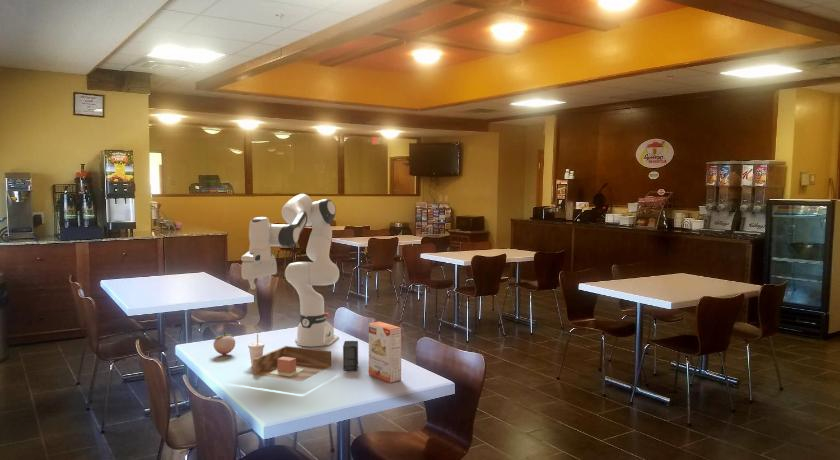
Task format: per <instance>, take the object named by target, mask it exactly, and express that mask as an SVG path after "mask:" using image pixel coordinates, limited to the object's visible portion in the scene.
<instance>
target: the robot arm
mask: <svg viewBox="0 0 840 460" xmlns="http://www.w3.org/2000/svg"><path fill="white" fill-rule="evenodd" d="M336 208H337V207H336V204H335V203H334V202H333V201H332V200H331V199H328V198H324V199H320V200H317V201H313V199H312V198H311V197H310V196H309V195H308V194H305V193H299V194H296V195H295V196H293V197H292V198H290V199H289V200H287V202H286V203H285V204H284V205H283V206H282V208H281V216H282V219H283V220H284V221H285V222H286V224H282V223H281V224H277V223H275V224H274V223H272V222H270V219H269V218H268V217H266V216H258V217H253V218H251V219H250V222H249V226H248V240H249V248H248V250H247V252H246V253H244V254H243V255H242V256H241V259H240V260H241V262H242V263H241V268H240V272H241V278H242V279H243V280H248V284H249V285H250V290H255V289H257V285H256V284H255V279H258V278H264V277H265V281H264V283H263V286H264V287H270V282H271V279H272V276H273V275H277V273H278V265H277V259H276V256H275V255H274V254H273V253H271V247H283V248H284V247H285V248H290V249H291V248H293V247H295V246H296V244H298V242H299V239H300V236H301V234H302V232H303V231H304V229H305V228H309V227H311V229H312V230H311V232H310V235H309V238H308V241H307V245H306V250H305V252H306V253H305V254H306V255H307V257H308V258H309V260H311V261H296V262H291V263H289V264H288V265H287V266H286V268H285V269H284V270H285V271H284V277H285V280H286V281H287V282H288V283H289V284H290V285H291V286H292V287H293V288H294V289H295V291H296V292H297V294H298V298H299V304H300V306H299V308H300V314H299V324H298V325H297V335H296V339H295V340H294V342H295V343H296V344H297V345H298V346H301V347H321V346H330V345H332V344H334V342H336V341H337V340H339V335H337V334H335V333H334V332H335V331H334V329H335V328H334V326H332V324H331V323H330V322H328V321H327V318H328V317H329V312H325V298H324V296H323V295H322V294H321V293H319V292H317V291H316V290H315V289H314V288H313V286H329V285H331V286H332V285H335V284H336V283H337V282H338V281H339V278H340V270H339V267H338V265H337V264H336V263H334V262H333V261H332V260H331V258H330V251H331V250H330V249H331V245H332V241H333V228H332V226H331V224H332V223H333V222H334V219H335V218H336V213H337V209H336Z"/></svg>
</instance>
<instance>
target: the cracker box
mask: <svg viewBox="0 0 840 460" xmlns="http://www.w3.org/2000/svg"><path fill="white" fill-rule="evenodd" d="M369 375H370V376H372V377H374V378H377V379H378V380H381V381H384V382H386V383H388V384H391V383H392V382H393V383H396V382H400V381H402V327H400V326H396V325H393V324H391V323H390V324H389V323H387V322H383V321H374V322H370V323H368V376H369Z"/></svg>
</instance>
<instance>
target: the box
mask: <svg viewBox="0 0 840 460" xmlns="http://www.w3.org/2000/svg"><path fill="white" fill-rule="evenodd" d="M342 350H343V351H342V353H343V354H342V359H343V361H342V366H343V367H342V369H343V372H358V367H359V342H358V340H345V341H344V342H343V347H342Z"/></svg>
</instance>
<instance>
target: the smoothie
mask: <svg viewBox="0 0 840 460" xmlns="http://www.w3.org/2000/svg"><path fill="white" fill-rule="evenodd" d="M247 346H248V347H247V348H249V354H250V364H251V367H252V368H253V359H255V358H257V357H260V356H262V355H264V347H265V343H263V342H259V333H256V342H251V343H249V344H248V345H247Z"/></svg>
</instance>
